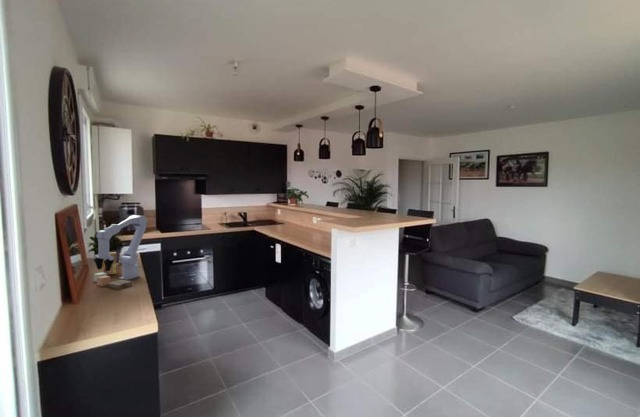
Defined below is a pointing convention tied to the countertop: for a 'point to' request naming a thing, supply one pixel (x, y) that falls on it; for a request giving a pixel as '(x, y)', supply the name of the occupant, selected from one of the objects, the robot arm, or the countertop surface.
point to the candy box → (113, 266)
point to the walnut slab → (119, 284)
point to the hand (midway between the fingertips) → (103, 270)
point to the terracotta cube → (103, 280)
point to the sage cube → (99, 275)
